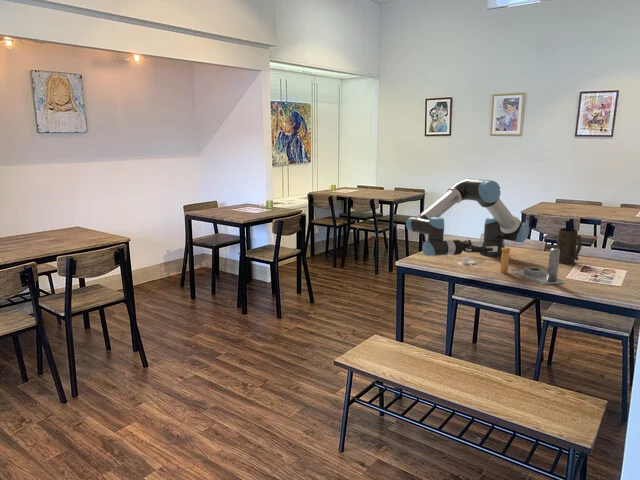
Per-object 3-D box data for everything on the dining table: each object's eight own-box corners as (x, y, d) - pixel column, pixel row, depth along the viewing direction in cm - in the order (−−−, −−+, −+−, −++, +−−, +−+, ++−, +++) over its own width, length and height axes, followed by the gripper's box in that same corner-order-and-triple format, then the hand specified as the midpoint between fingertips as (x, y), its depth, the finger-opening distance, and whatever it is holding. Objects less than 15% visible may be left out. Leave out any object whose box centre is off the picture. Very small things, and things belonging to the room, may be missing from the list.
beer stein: (549, 260, 273) (554, 228, 268) (561, 258, 278) (566, 226, 272) (572, 268, 260) (579, 234, 255) (584, 266, 265) (591, 232, 260)
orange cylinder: (497, 271, 250) (499, 247, 248) (505, 270, 251) (507, 247, 249) (502, 273, 246) (504, 249, 243) (510, 273, 247) (512, 249, 244)
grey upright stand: (514, 272, 248) (517, 241, 244) (534, 271, 251) (537, 240, 247) (543, 285, 226) (547, 250, 223) (565, 283, 229) (568, 249, 225)
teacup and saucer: (475, 264, 267) (476, 257, 266) (472, 267, 260) (472, 260, 260) (460, 262, 272) (460, 255, 271) (456, 265, 265) (456, 258, 264)
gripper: (440, 249, 251) (475, 247, 256) (464, 260, 227) (503, 258, 232) (441, 235, 249) (476, 234, 254) (465, 245, 226) (504, 243, 231)
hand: (489, 246), depth 243 cm, fingers open, 13 cm apart
